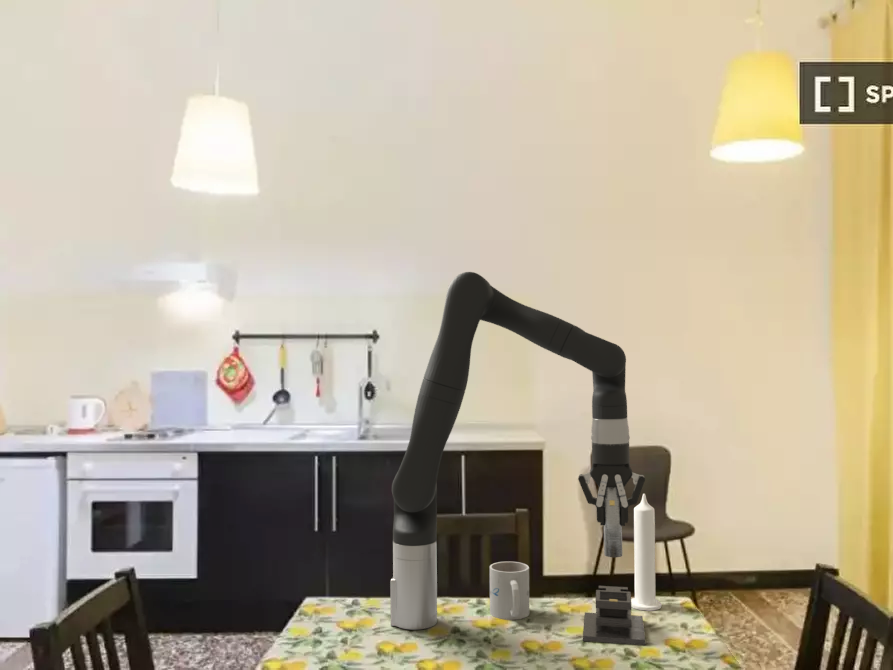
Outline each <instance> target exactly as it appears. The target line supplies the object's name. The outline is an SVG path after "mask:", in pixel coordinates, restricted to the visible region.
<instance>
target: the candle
mask: <svg viewBox="0 0 893 670" xmlns="http://www.w3.org/2000/svg"><path fill="white" fill-rule="evenodd" d="M655 515H656V514H655V508H654V507H653V506H652V505H650V503H648V500H647V496H646V493H642V497H641V500H640V503H638V504H637V505H636V506H635V507H634V508H633V549H634V550H633V553H634V554H633V555H634V556H633V557H634V560H633V561H634V562H633V563H634V564H633V565H634V567H633V568H634V597H633V598H631V609H632V608H633V609H634V610H638V611H647V612H648V611H649V612H650V611H658V610H660V609H661V608H662V602H661V601H659V600H658V599H657V598H656V543H655V542H656V524H655V523H656V516H655Z"/></svg>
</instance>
